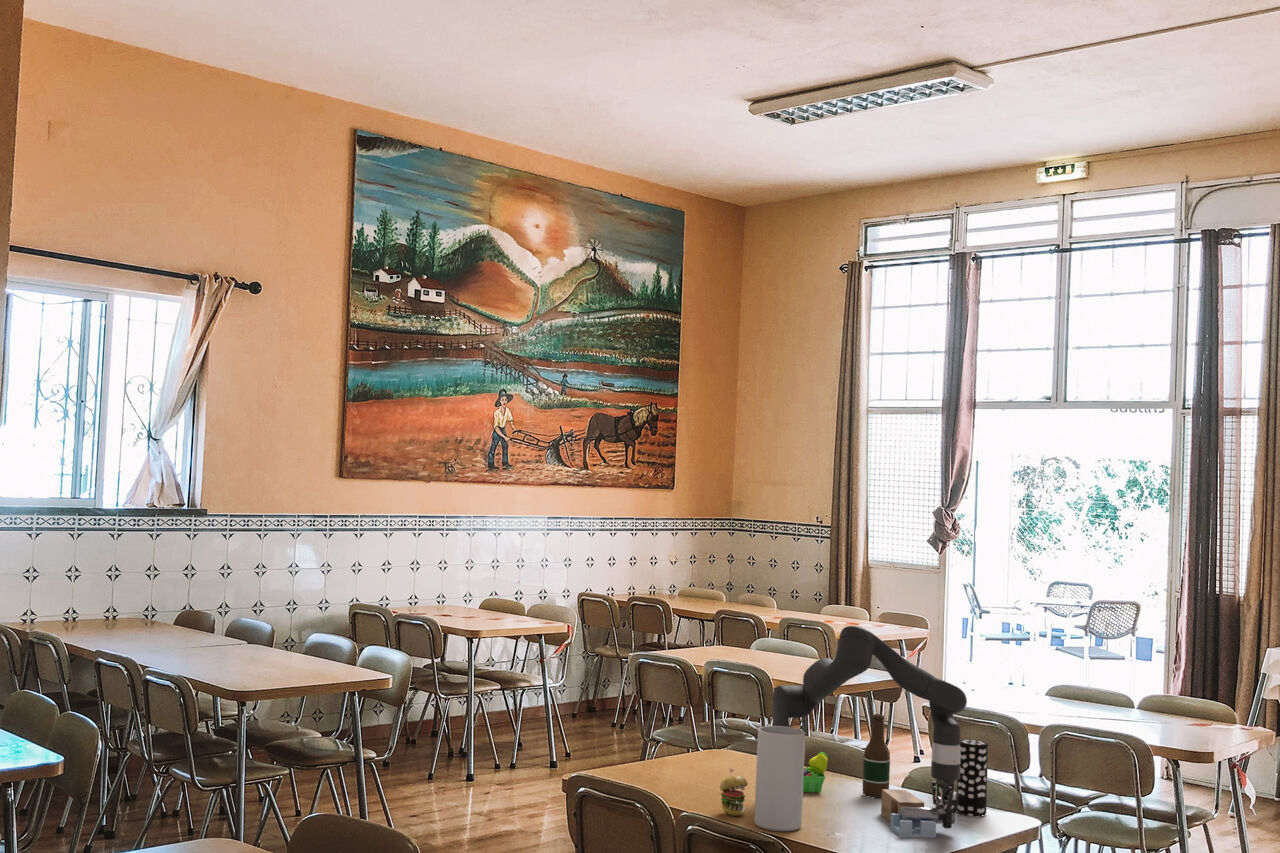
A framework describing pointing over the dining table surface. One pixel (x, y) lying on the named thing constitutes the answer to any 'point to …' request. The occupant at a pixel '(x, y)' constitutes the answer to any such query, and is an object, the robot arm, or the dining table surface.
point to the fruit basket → (815, 773)
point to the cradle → (912, 827)
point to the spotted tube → (973, 778)
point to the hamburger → (733, 795)
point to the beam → (897, 801)
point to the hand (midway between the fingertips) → (943, 825)
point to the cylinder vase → (779, 778)
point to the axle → (923, 814)
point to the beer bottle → (876, 761)
